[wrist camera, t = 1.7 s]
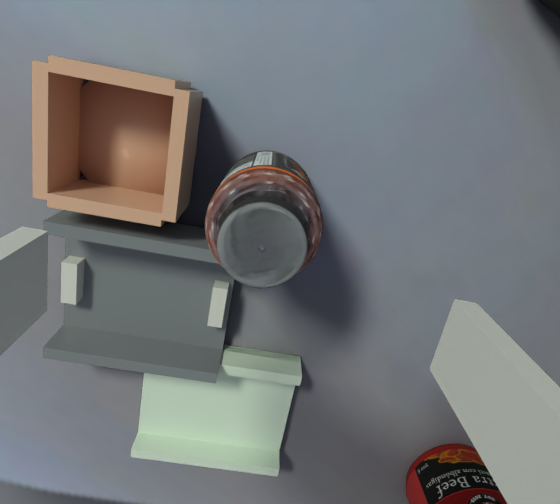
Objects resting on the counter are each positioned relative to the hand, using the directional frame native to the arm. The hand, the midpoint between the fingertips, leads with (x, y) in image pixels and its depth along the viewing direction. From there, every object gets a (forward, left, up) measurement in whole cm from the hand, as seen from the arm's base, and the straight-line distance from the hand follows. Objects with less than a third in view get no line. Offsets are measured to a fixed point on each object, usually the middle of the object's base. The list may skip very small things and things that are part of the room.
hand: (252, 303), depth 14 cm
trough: (+1, +17, -16) cm, 23 cm away
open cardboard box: (+9, -2, -16) cm, 19 cm away
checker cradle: (+7, +8, -16) cm, 19 cm away
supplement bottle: (0, 0, -17) cm, 17 cm away
